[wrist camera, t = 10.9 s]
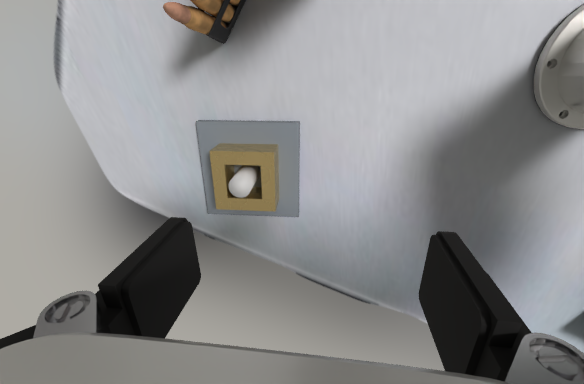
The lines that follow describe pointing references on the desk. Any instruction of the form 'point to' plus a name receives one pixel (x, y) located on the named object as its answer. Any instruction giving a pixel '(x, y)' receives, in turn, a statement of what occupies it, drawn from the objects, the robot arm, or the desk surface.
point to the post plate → (255, 137)
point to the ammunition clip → (207, 16)
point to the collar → (246, 154)
